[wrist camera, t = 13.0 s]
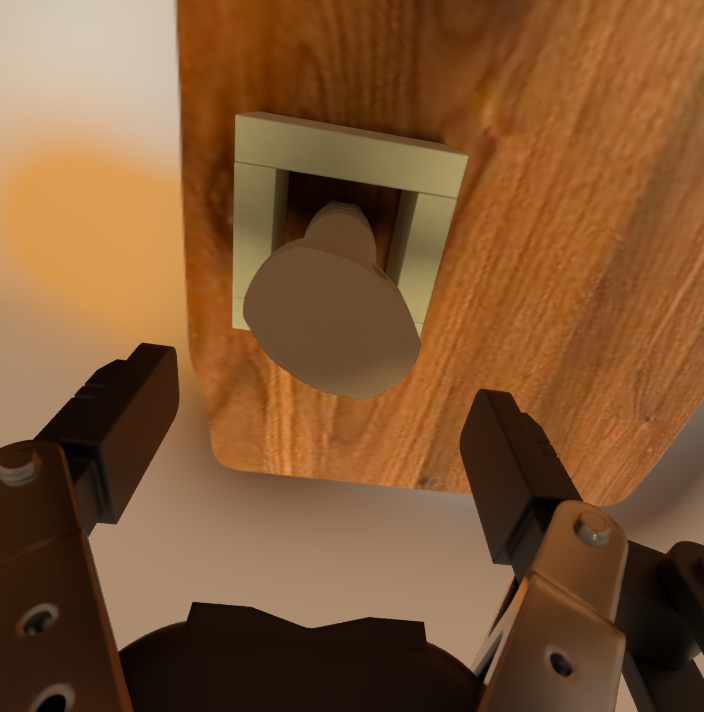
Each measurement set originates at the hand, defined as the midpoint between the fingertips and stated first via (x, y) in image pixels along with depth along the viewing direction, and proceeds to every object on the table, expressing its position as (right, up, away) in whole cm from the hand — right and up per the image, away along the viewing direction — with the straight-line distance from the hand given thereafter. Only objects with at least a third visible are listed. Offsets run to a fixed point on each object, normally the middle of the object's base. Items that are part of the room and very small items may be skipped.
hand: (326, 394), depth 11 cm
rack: (0, +10, +16) cm, 19 cm away
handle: (0, +10, +16) cm, 19 cm away
